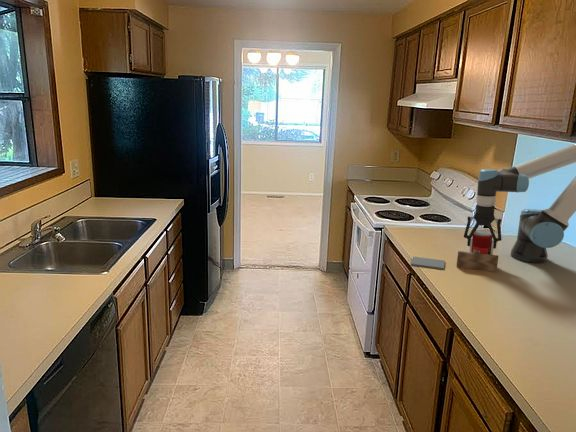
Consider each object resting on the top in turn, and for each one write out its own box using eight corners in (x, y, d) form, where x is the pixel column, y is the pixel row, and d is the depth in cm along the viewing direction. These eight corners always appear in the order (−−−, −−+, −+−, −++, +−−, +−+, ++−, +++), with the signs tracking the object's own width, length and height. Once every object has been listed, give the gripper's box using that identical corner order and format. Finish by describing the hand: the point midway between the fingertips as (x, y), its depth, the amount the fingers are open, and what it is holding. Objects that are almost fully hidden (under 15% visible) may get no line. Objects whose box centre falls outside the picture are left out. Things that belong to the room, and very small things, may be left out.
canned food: (492, 259, 191) (494, 235, 188) (472, 258, 193) (474, 234, 190) (488, 253, 198) (490, 230, 196) (469, 252, 200) (471, 229, 197)
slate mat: (444, 262, 197) (445, 260, 197) (443, 269, 188) (443, 267, 188) (413, 258, 202) (413, 256, 202) (410, 265, 193) (410, 263, 193)
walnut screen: (496, 270, 187) (498, 255, 185) (496, 272, 186) (498, 256, 184) (456, 265, 193) (458, 250, 191) (456, 266, 191) (458, 251, 190)
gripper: (511, 204, 189) (505, 253, 195) (460, 201, 197) (456, 249, 202) (512, 208, 183) (507, 259, 188) (459, 204, 190) (455, 254, 196)
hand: (480, 254), depth 195 cm, fingers closed on canned food, 8 cm apart
